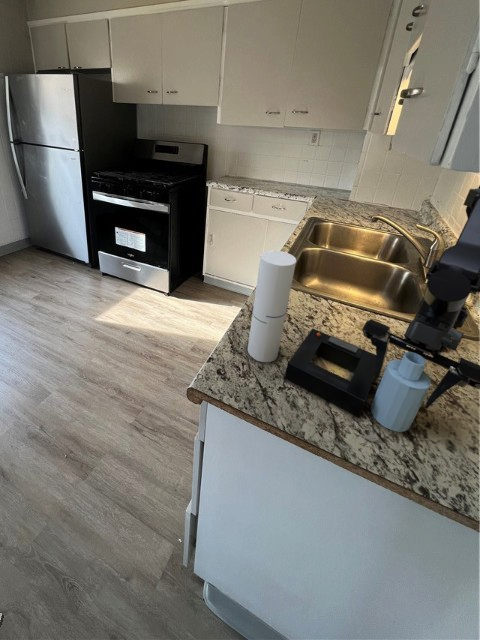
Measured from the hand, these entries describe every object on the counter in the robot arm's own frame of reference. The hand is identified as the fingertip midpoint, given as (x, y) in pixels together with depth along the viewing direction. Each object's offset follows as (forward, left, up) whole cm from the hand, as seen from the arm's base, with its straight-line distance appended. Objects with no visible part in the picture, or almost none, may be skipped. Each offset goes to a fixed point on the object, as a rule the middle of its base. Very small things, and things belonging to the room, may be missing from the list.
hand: (399, 393), depth 56 cm
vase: (-1, 0, -7) cm, 7 cm away
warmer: (-4, -12, -7) cm, 14 cm away
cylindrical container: (-1, -27, -7) cm, 28 cm away
